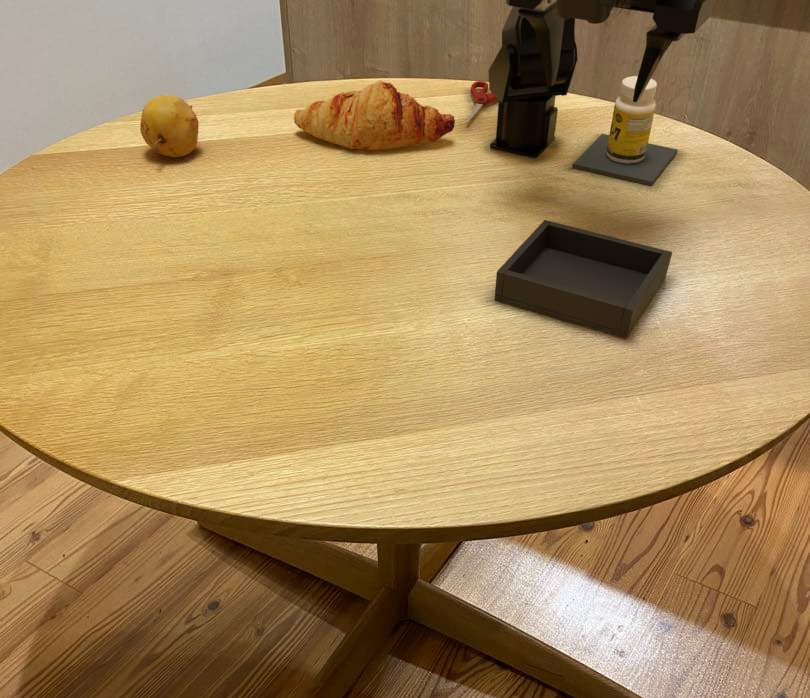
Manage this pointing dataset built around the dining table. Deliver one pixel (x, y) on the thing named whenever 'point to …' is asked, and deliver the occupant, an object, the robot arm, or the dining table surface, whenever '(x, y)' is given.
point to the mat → (636, 172)
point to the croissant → (373, 119)
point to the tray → (583, 277)
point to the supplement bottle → (631, 123)
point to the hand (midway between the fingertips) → (592, 92)
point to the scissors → (480, 97)
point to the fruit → (169, 126)
